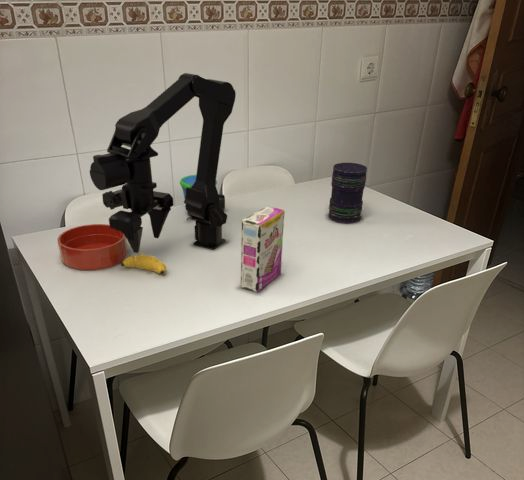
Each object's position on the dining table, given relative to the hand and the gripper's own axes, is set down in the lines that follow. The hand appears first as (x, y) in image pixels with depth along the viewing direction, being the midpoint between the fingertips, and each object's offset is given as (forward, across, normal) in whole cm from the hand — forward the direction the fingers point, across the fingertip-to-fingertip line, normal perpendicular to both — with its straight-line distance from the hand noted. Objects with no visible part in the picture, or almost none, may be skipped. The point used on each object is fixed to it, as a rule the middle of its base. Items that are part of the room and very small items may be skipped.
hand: (146, 245), depth 125 cm
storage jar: (+6, -53, +36) cm, 64 cm away
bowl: (+6, 0, -16) cm, 17 cm away
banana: (+6, 0, 0) cm, 6 cm away
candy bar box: (+6, -4, +28) cm, 29 cm away
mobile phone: (+3, -37, -3) cm, 38 cm away
